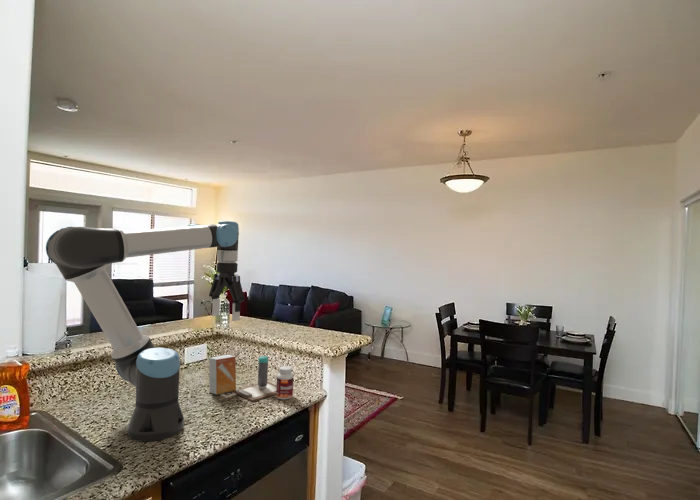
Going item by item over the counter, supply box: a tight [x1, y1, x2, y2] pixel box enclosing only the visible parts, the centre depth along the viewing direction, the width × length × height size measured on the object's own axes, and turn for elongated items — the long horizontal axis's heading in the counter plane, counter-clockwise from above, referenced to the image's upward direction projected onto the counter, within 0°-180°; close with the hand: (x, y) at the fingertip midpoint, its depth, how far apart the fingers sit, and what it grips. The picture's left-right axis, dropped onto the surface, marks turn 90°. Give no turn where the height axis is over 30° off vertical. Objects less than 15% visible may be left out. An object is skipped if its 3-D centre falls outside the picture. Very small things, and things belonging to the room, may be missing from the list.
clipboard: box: [232, 381, 277, 403], centre depth 152 cm, size 16×13×1 cm
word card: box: [218, 391, 238, 399], centre depth 149 cm, size 7×5×1 cm
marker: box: [257, 355, 269, 389], centre depth 154 cm, size 4×4×12 cm
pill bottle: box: [275, 365, 294, 401], centre depth 148 cm, size 6×6×11 cm
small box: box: [208, 354, 237, 395], centre depth 151 cm, size 8×6×13 cm
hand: (225, 318), depth 149 cm, fingers open, 13 cm apart
